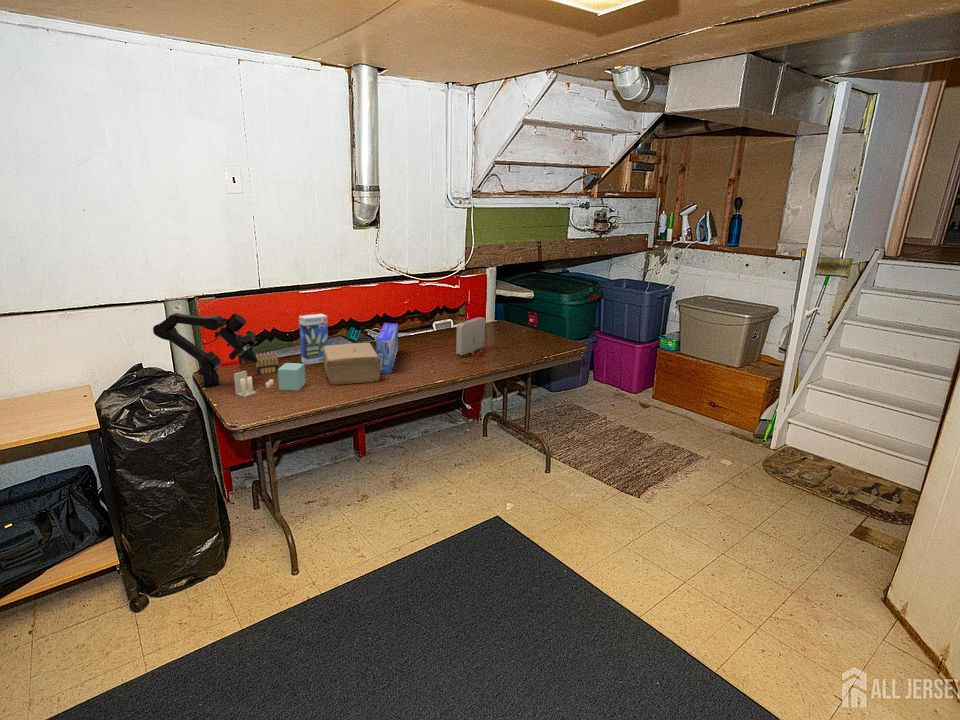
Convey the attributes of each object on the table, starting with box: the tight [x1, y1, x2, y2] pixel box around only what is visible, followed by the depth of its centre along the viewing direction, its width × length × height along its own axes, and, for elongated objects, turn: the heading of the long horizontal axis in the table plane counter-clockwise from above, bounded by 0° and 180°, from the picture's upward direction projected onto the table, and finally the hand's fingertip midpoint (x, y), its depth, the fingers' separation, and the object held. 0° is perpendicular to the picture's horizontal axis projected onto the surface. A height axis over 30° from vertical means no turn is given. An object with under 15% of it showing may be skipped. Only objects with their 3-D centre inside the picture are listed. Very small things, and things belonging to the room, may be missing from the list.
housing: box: [277, 362, 307, 391], centre depth 254 cm, size 9×10×10 cm
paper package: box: [323, 342, 381, 386], centre depth 274 cm, size 27×26×14 cm
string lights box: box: [298, 313, 329, 366], centre depth 292 cm, size 13×8×26 cm, turn 129°
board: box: [265, 378, 274, 388], centre depth 255 cm, size 12×7×3 cm, turn 89°
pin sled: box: [233, 370, 257, 398], centre depth 243 cm, size 6×6×10 cm
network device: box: [455, 316, 486, 356], centre depth 320 cm, size 26×9×20 cm, turn 148°
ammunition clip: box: [255, 350, 280, 376], centre depth 271 cm, size 11×2×12 cm, turn 122°
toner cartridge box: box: [375, 322, 399, 374], centre depth 297 cm, size 39×8×18 cm, turn 3°
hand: (257, 362), depth 252 cm, fingers closed
